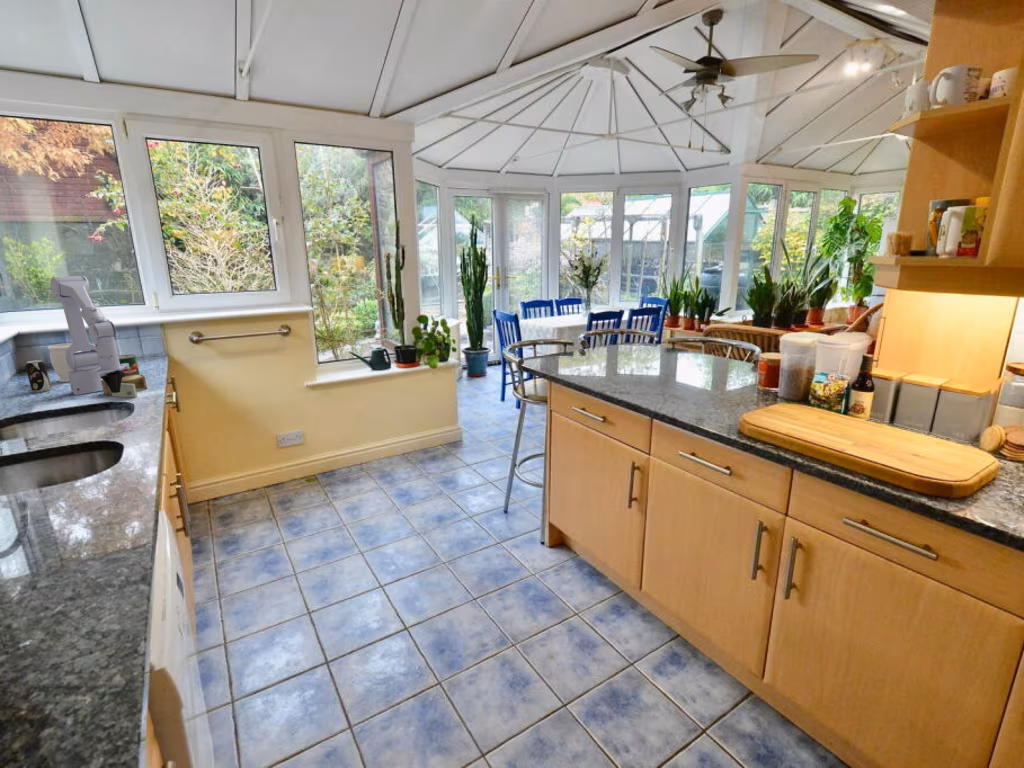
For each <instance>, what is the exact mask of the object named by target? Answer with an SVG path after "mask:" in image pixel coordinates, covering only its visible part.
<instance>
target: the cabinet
mask: <svg viewBox="0 0 1024 768" xmlns="http://www.w3.org/2000/svg"><path fill="white" fill-rule="evenodd" d="M101 382H102V386H103V391H102V392H103V394H105V395H106V396H107V397H111V396H110V394H109V389H108V385H107V384H106V382H105V381H104V380H103V379H101ZM121 383H125V384H135V388H136V392H139V391H144V390H147V389H148V385H147V381H146V377H145V375H143V374H140V373H139V375H133V376H127V377H123V378H122V381H121Z"/></svg>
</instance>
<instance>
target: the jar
mask: <svg viewBox="0 0 1024 768" xmlns="http://www.w3.org/2000/svg"><path fill="white" fill-rule="evenodd" d="M72 344H73V343H72V342H69V343H59V344H52V345H49V346H47V350H49V358H50V363H51V366H52V368H53V370H54V372H55V374H56V375H57V376H58V378H59V379H58V381H59V382H61V383H70V381H69V376H68V371H73V370H72V369H70V368H69V367H68V365H67V362H66V354H65V350H66V349H67V348H68V347H69V346H71V345H72ZM78 352H82V351H78ZM75 353H77V352H75Z"/></svg>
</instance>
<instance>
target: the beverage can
mask: <svg viewBox="0 0 1024 768" xmlns="http://www.w3.org/2000/svg"><path fill="white" fill-rule="evenodd" d="M25 363H26V364H25V371H26V374H27V377H28V381H29V385H30V389H31V392H34V393H44V392H47V391H50V389H52V384H51V381H50V377H49V373H48V369H47V365H46V363H45V362H43V360H42V359H35V360H29V361H26V362H25Z"/></svg>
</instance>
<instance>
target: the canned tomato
mask: <svg viewBox="0 0 1024 768" xmlns="http://www.w3.org/2000/svg"><path fill="white" fill-rule="evenodd" d="M118 358H119V362H120V364H123V363H129V367H130V368H129V369H124V370H121V371H120V372H124V376H123V377H127V376H133V375H139V374H140V370H139V365H138V360H137V355H136V354H118Z"/></svg>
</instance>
